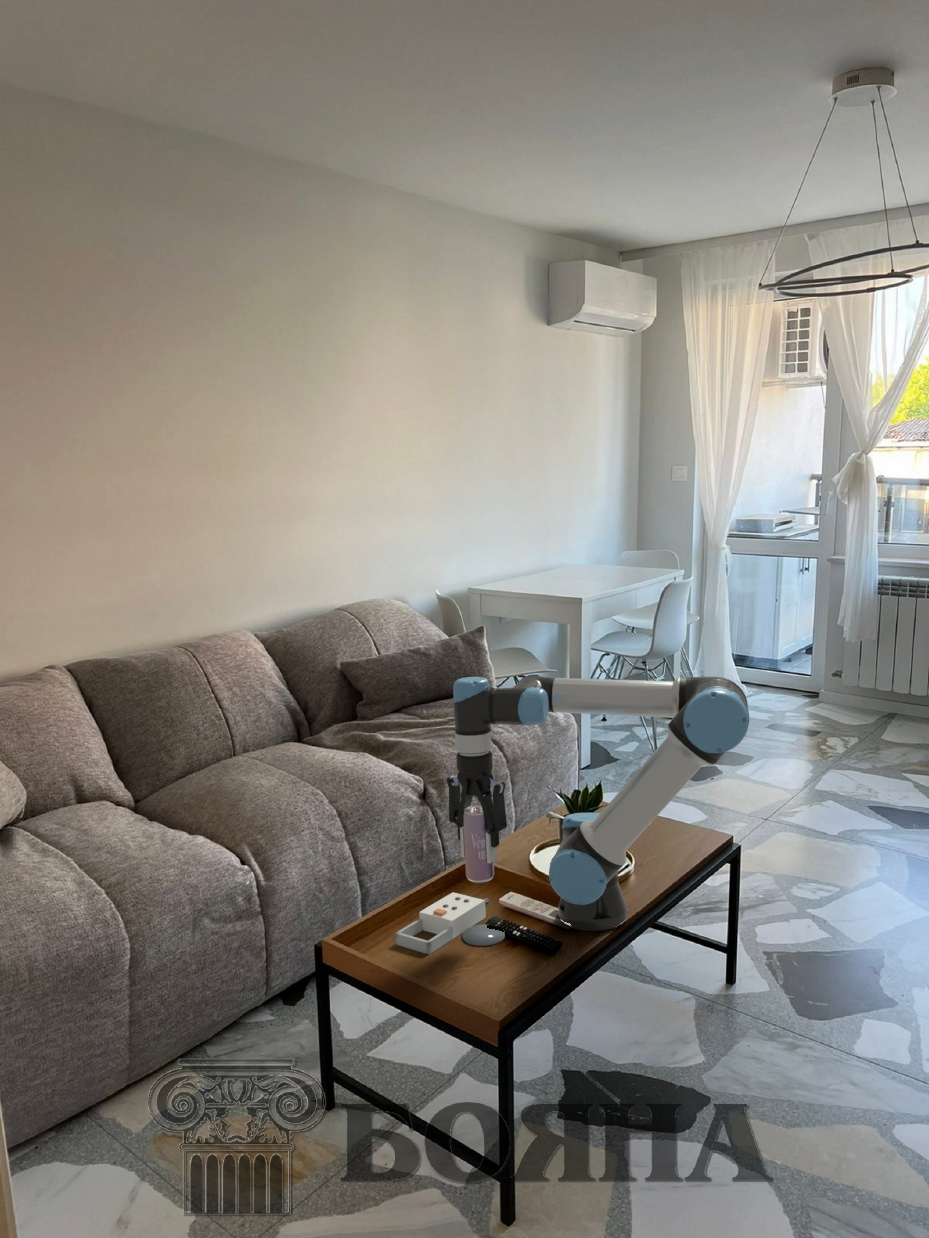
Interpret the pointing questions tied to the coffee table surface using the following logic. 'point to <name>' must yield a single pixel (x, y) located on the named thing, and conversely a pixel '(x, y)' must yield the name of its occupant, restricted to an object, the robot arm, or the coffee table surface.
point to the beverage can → (476, 845)
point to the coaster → (482, 935)
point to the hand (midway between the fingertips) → (479, 858)
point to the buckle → (442, 922)
